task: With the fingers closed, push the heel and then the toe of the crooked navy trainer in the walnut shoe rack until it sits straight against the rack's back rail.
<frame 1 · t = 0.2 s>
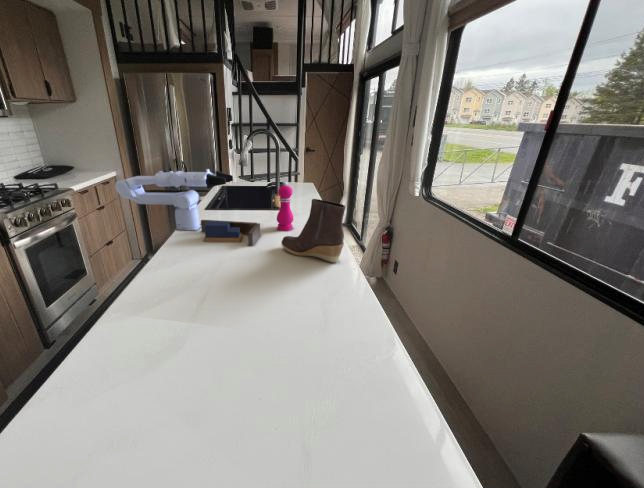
hand: (229, 179, 129), 21 cm above the table, tool horizontal, fingers open, 7 cm apart
trainer: (223, 238, 130), on the table
pepper mill: (285, 228, 140), on the table
boot: (310, 254, 115), on the table
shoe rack: (232, 229, 139), on the table
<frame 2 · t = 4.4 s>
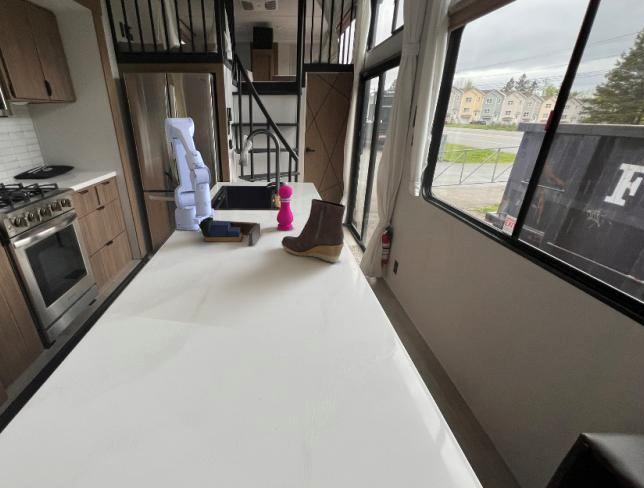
hand: (206, 236, 125), 2 cm above the table, tool pointing down, fingers closed
trainer: (223, 238, 130), on the table, touching gripper
everything else where it was.
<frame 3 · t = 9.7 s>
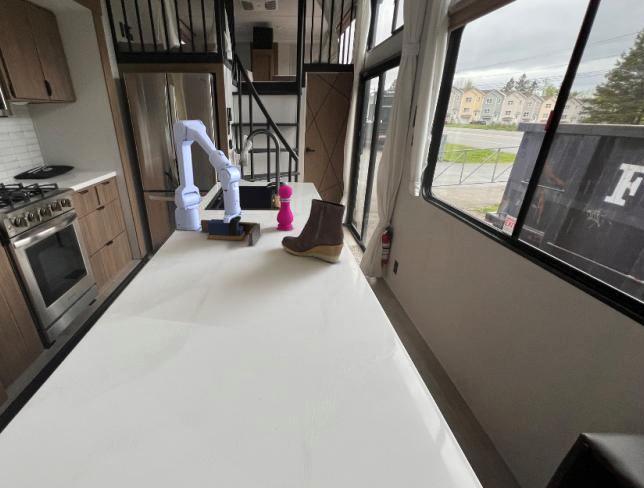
hand: (233, 235, 126), 2 cm above the table, tool pointing down, fingers closed
trainer: (226, 236, 131), on the table, touching gripper
everything else where it was.
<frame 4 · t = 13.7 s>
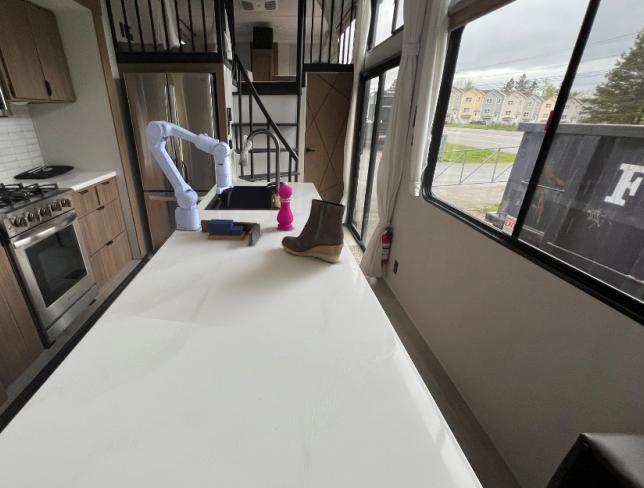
hand: (225, 207, 138), 9 cm above the table, tool pointing down, fingers closed
trainer: (226, 236, 132), on the table
everything else where it was.
at the end: trainer inside the target area (0.8 cm from its centre), on the table; trainer tilted 0°; trainer moved 2.5 cm from its start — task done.
